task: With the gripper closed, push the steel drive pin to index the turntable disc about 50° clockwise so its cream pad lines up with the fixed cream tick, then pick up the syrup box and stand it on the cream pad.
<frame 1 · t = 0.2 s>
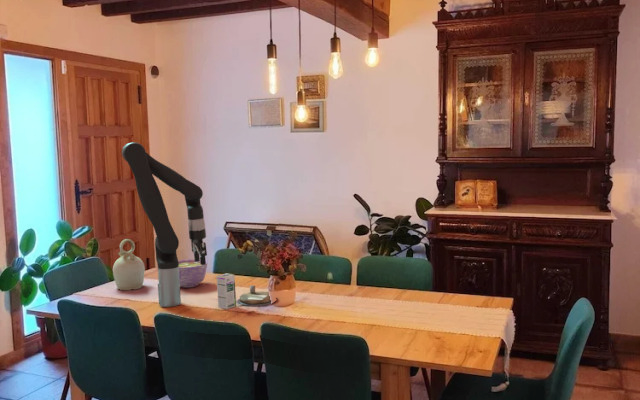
hand: (200, 262, 277), 17 cm above the table, tool pointing down, fingers open, 8 cm apart
bowl of food: (188, 285, 307), on the table
turntable: (257, 293, 274), point 3 cm above the table, hinge at 0.0°
base plate: (257, 300, 275), on the table
jug: (130, 287, 307), on the table
syrup box: (227, 307, 266), on the table
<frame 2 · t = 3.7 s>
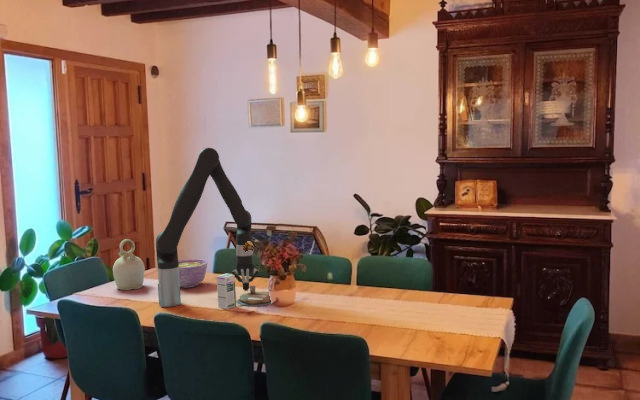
hand: (246, 290, 280), 4 cm above the table, tool pointing down, fingers closed
turntable: (257, 293, 274), point 3 cm above the table, hinge at 0.3°, touching gripper
everything else where it was.
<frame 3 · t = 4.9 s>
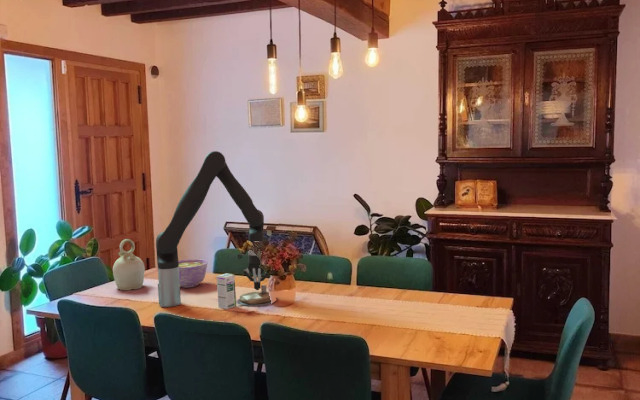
hand: (257, 289, 280), 4 cm above the table, tool pointing down, fingers closed
turntable: (257, 293, 274), point 3 cm above the table, hinge at 51.9°, touching gripper
everything else where it was.
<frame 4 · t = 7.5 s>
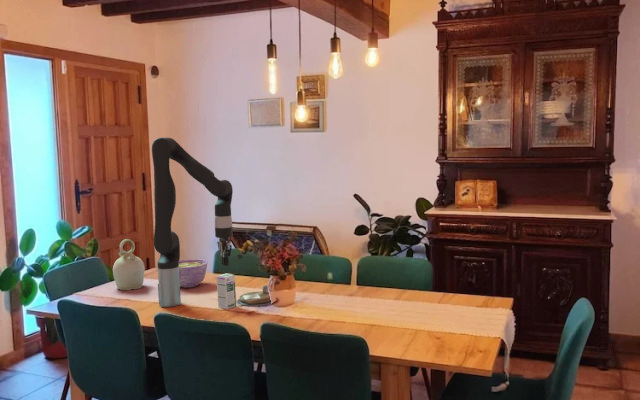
hand: (225, 264, 264), 19 cm above the table, tool pointing down, fingers closed
turntable: (257, 293, 274), point 3 cm above the table, hinge at 58.6°
everything else where it was.
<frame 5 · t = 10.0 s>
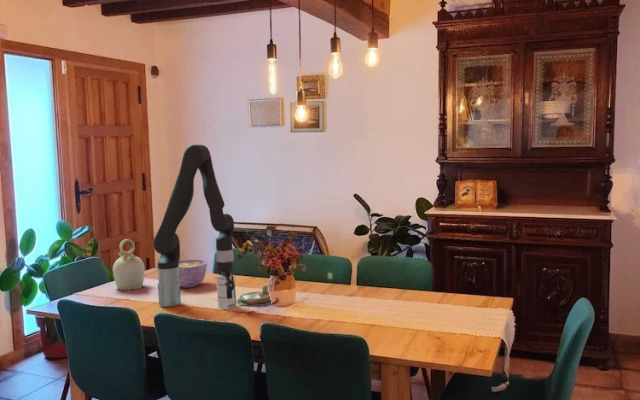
hand: (226, 296, 266), 5 cm above the table, tool pointing down, fingers closed on syrup box, 7 cm apart
syrup box: (227, 307, 266), on the table, touching gripper
everything else where it was.
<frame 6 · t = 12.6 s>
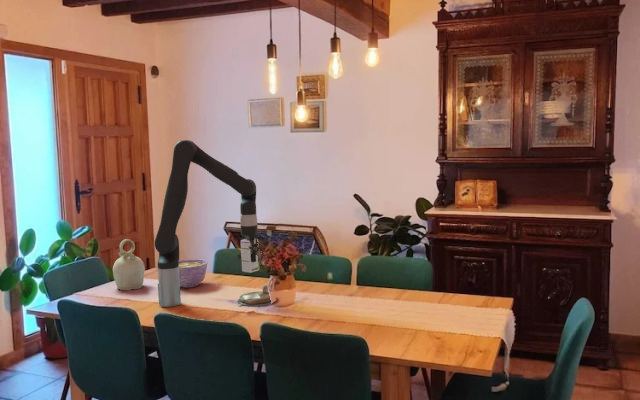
hand: (250, 260, 271), 19 cm above the table, tool pointing down, fingers closed on syrup box, 7 cm apart
syrup box: (250, 271, 271), point 14 cm above the table, touching gripper
everything else where it was.
when the fingers open (8 cm above the table, at t = 15.2 s): syrup box stays where it is, resting on turntable.
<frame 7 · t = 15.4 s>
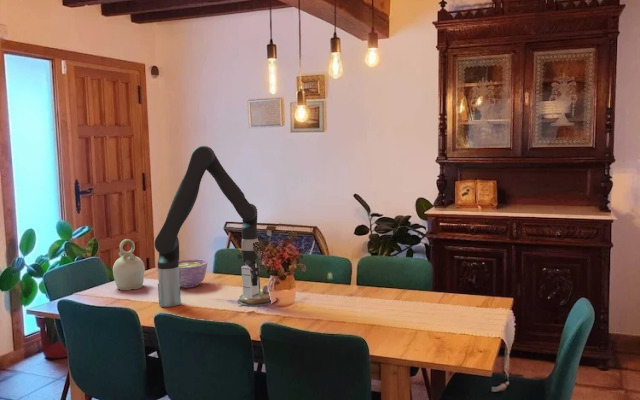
hand: (251, 283, 272), 9 cm above the table, tool pointing down, fingers open, 8 cm apart
turntable: (257, 293, 274), point 3 cm above the table, hinge at 58.4°, touching syrup box
syrup box: (251, 297, 273), point 2 cm above the table, touching turntable
everything else where it was.
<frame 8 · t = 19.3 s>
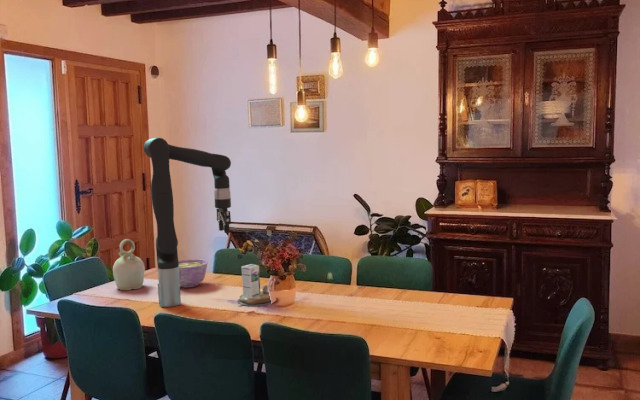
hand: (224, 231, 286), 30 cm above the table, tool pointing down, fingers open, 8 cm apart
nothing on the table moved.
at the end: turntable at +58° (first picture: +0°); syrup box inside the target area (0.2 cm from its centre), point 2.3 cm above the table; syrup box tilted 0° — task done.
